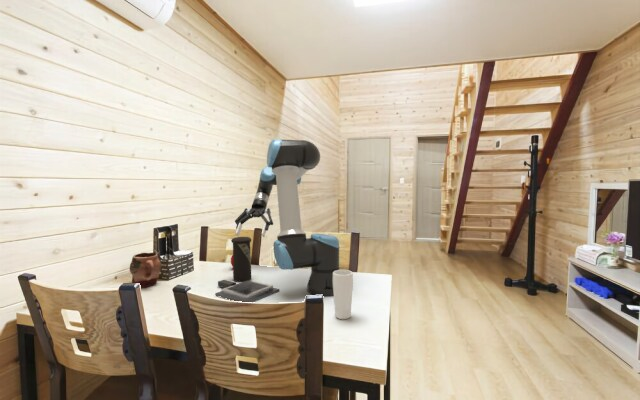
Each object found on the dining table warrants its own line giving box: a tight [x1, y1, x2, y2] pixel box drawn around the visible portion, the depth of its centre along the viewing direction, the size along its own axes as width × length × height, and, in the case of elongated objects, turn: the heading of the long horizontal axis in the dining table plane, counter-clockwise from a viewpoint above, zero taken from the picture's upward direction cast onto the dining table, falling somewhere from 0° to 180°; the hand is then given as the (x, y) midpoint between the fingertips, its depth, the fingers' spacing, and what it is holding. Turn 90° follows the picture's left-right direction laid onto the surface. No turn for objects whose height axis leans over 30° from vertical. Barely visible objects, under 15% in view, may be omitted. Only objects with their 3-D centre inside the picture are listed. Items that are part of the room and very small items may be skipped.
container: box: [230, 236, 252, 283], centre depth 150 cm, size 9×9×20 cm
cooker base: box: [214, 279, 280, 303], centre depth 133 cm, size 26×18×2 cm
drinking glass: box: [333, 269, 354, 320], centre depth 107 cm, size 7×7×15 cm
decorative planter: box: [129, 252, 162, 289], centre depth 143 cm, size 20×12×14 cm, turn 50°
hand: (249, 235), depth 160 cm, fingers open, 13 cm apart
